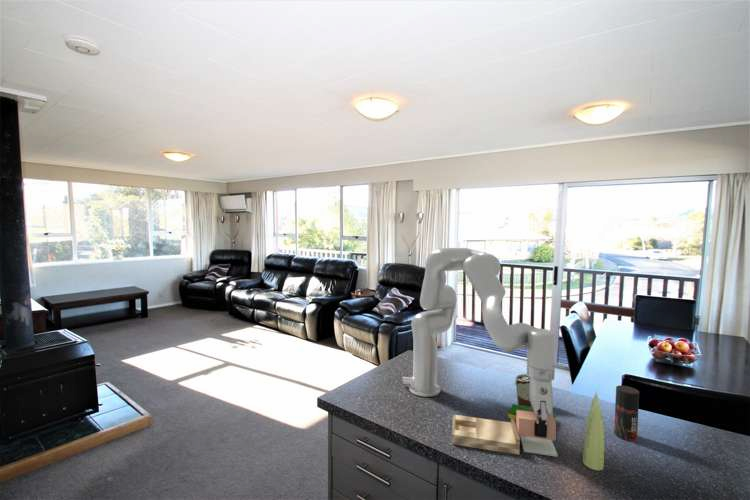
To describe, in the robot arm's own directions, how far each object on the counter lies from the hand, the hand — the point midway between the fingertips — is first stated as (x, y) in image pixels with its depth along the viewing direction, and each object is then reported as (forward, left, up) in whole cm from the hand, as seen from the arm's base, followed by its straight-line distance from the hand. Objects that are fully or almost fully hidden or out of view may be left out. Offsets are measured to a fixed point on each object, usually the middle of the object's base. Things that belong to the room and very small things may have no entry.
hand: (538, 430), depth 106 cm
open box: (-16, 0, -5) cm, 16 cm away
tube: (+13, -6, -5) cm, 15 cm away
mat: (0, 0, -5) cm, 5 cm away
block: (-1, 0, +2) cm, 2 cm away
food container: (+2, +28, -5) cm, 29 cm away
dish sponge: (+1, +16, -5) cm, 17 cm away
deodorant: (+28, +13, -5) cm, 31 cm away
